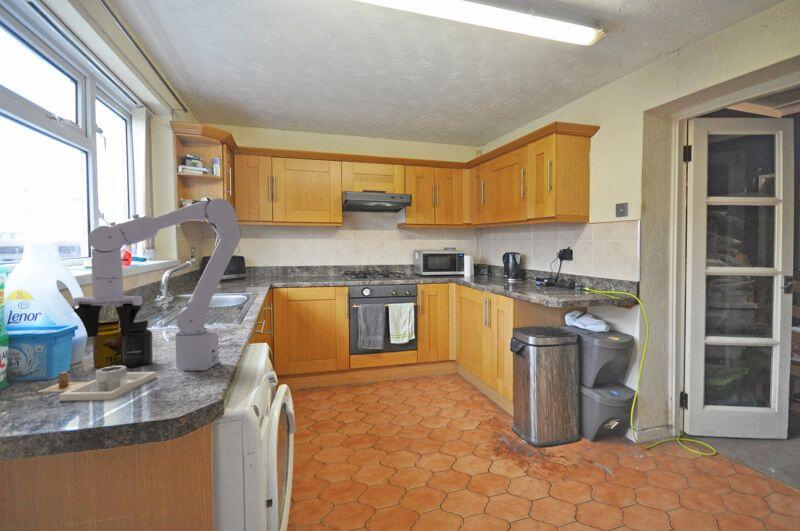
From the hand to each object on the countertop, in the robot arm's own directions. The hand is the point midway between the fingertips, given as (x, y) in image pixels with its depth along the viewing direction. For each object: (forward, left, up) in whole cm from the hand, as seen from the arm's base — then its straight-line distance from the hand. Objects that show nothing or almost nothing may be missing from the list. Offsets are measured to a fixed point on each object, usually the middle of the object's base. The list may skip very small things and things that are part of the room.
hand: (109, 336), depth 90 cm
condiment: (+9, -10, -10) cm, 17 cm away
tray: (-7, +9, -10) cm, 15 cm away
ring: (-7, +9, -9) cm, 15 cm away
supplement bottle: (0, -10, -10) cm, 14 cm away
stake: (+5, +7, -10) cm, 13 cm away
